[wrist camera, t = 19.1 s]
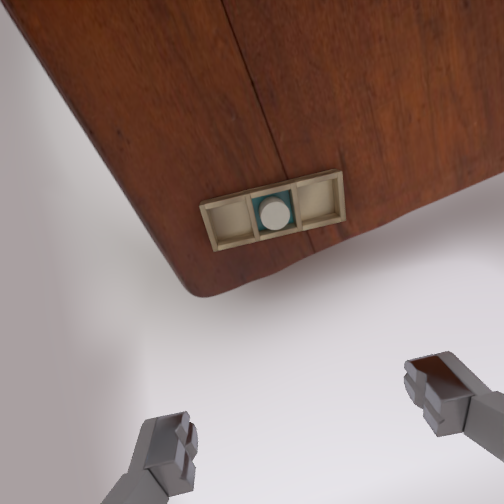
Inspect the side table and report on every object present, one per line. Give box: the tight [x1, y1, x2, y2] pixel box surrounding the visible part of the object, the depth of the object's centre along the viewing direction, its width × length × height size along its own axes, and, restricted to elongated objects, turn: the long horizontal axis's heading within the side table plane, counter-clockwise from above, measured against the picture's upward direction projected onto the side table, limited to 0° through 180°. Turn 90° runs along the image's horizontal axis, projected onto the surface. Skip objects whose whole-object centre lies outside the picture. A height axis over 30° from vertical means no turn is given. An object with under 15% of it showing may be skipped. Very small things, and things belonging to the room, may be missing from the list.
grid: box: [199, 169, 346, 252], centre depth 34 cm, size 18×6×2 cm, turn 103°
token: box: [259, 196, 290, 230], centre depth 33 cm, size 4×4×3 cm
